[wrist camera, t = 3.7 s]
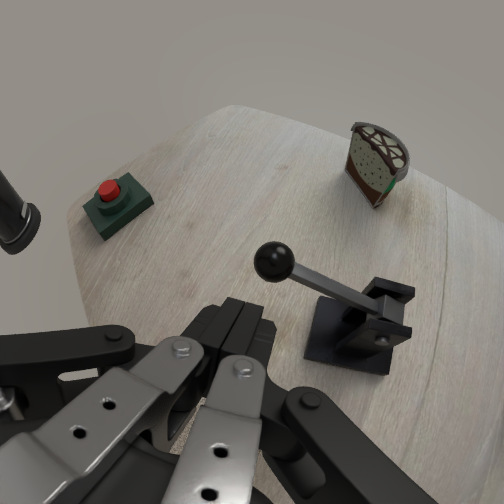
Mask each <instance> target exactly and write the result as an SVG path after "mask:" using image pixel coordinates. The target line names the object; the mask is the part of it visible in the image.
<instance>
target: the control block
mask: <svg viewBox="0 0 504 504" xmlns="http://www.w3.org/2000/svg"><path fill="white" fill-rule="evenodd" d="M113 180H114V181H116V183H117V185H118V187H119V189H120V193H119V195H118V197H117V198H116V199H114V200H113V201H110V202H105V201H103V200H102V198H101V196H100V194H99V193H98V190H97V191H96V193H95V195H94V197H93V198H92V199H91V200H90V201H88V202H87V203H86V204H84V205H83V206H82V207H83V208H84V210H85V211H86V213H87V215H88V216H89V218H90V219H91V221H92V223H93V224H94V226H95V227H96V229H97V230H98V232H99V233H100V235H101V236H102V237H103V239H104V240H105V241H106V240H107V239H108V238H109V237H111V236H112V235H113V234H114V233H116V232H117V231H118V230H119V229H121V228H122V227H123V226H125V225H126V224H127V223H128V222H130V221H131V220H132V219H134V218H135V217H136V216H138V215H139V214H140V213H142V212H143V211H144V210H146V209H147V208H148V207H150V206H151V205H152V204H154V202H153V200H152V197H151V195H150V194H149V193H148V192H147V191H146V190H145V189H144V188H143V187H142V186H141V185H140V184H139V183H138V182H137V181H136V180H135V179H134V178H133V176H132V175H131V174H130V173H129V172H128V173H126V174H125V175H123V176H122V177H121V178H119V179H113Z"/></svg>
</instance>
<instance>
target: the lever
mask: <svg viewBox="0 0 504 504" xmlns="http://www.w3.org/2000/svg"><path fill="white" fill-rule="evenodd" d="M254 268H255V270H256V272H257V274H258V275H259V276H260V277H261V278H262V279H263V280H265V281H267V282H272V283H277V282H281V281H283V280H285V279H287V278H289V279H292V280H294V281H296V282H298V283H301V284H303V285H305V286H307V287H310V288H312V289H314V290H316V291H318V292H321V293H323V294H325V295H327V296H330V297H332V298H334V299H336V300H339V301H341V302H343V303H346V304H348V305H350V306H352V307H355V308H357V309H359V310H361V311H364V312H366V313H367V318H366V321H367V320H368V319H369V318H373V319H377V320H381V321H386V322H390V323H394V324H398V325H403V318H404V307H405V304H403V303H401V302H399V301H397V300H395V299H393V298H391V297H389V296H387V295H383V296H381V297H378V298H376V299H372V298H370V297H368V296H366V295H364V294H362V293H360V292H358V291H356V290H353V289H351V288H349V287H347V286H345V285H343V284H341V283H339V282H337V281H335V280H332V279H330V278H328V277H326V276H324V275H322V274H320V273H318V272H316V271H313V270H311V269H309V268H307V267H305V266H303V265H301V264H299V263H296V262H295V258H294V254H293V252H292V251H291V249H290V248H289V247H288V246H287V245H285V244H283V243H281V242H277V241H272V242H268V243H265V244H263V245H262V246H261V247H260V248H259V249H258V250H257V252H256V254H255V256H254Z"/></svg>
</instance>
